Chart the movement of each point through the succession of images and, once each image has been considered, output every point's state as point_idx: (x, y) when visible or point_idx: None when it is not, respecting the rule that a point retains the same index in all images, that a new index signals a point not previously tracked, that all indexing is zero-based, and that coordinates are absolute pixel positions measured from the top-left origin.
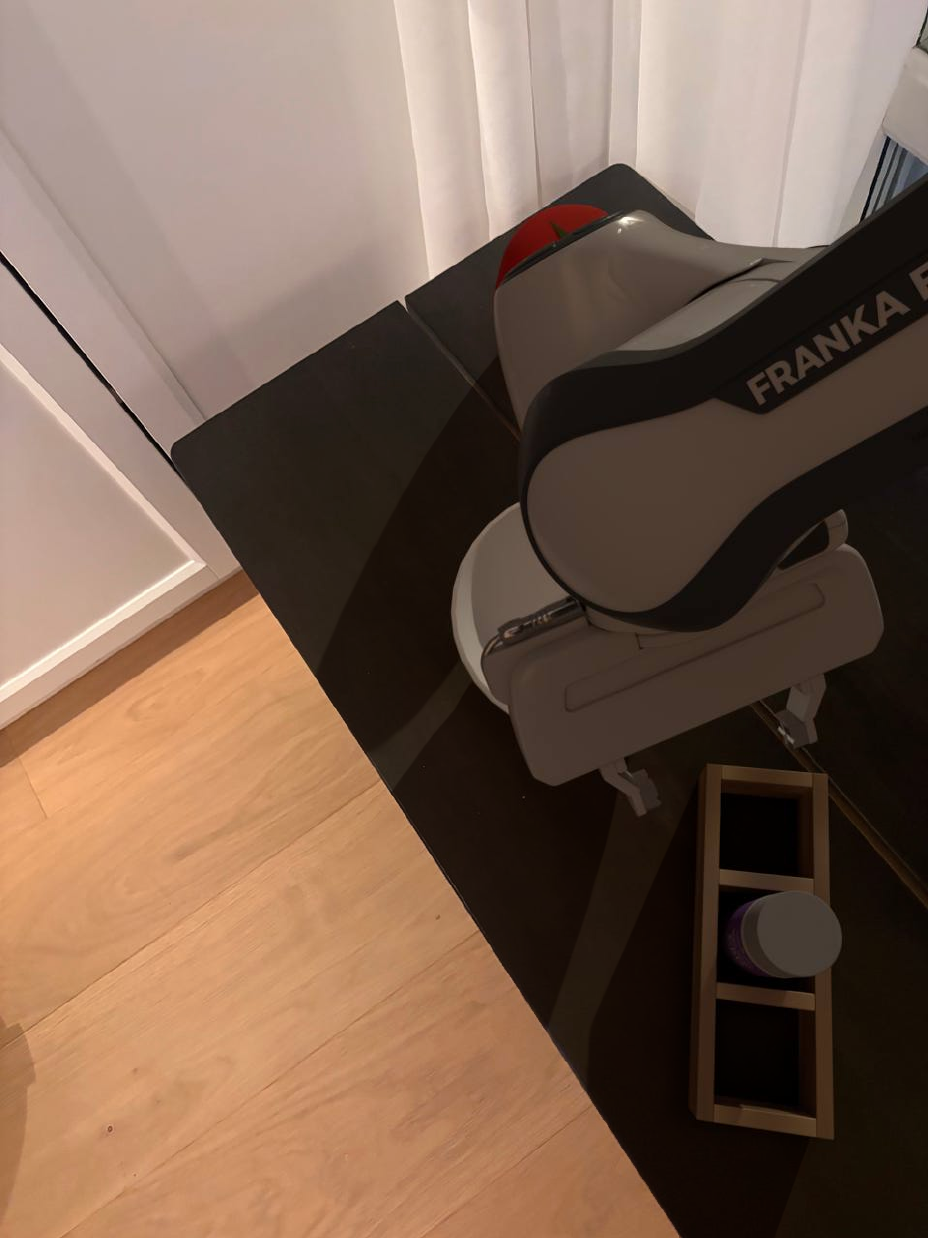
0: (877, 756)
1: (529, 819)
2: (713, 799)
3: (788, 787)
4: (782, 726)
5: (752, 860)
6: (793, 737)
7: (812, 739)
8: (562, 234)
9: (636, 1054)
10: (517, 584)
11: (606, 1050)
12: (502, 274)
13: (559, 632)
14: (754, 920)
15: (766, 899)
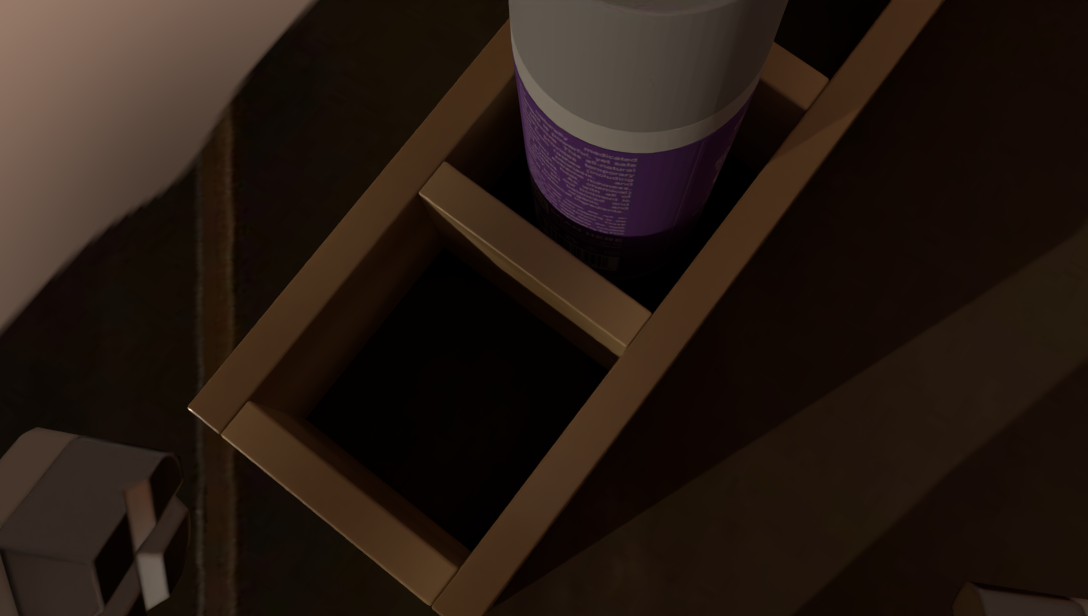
0: (62, 402)
1: None
2: (517, 528)
3: (305, 440)
4: (125, 597)
5: (500, 353)
6: (113, 506)
7: (44, 443)
8: None
9: (1005, 130)
10: None
11: (1067, 171)
12: None
13: None
14: (765, 9)
15: (671, 57)
